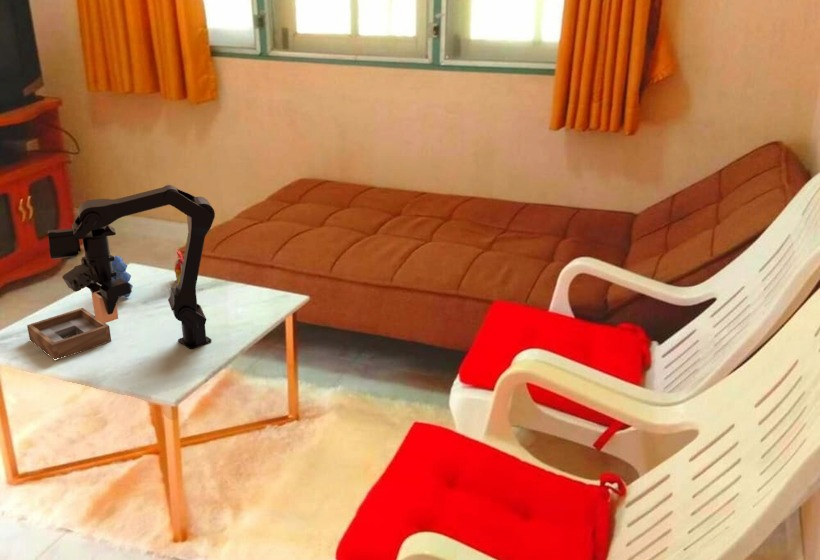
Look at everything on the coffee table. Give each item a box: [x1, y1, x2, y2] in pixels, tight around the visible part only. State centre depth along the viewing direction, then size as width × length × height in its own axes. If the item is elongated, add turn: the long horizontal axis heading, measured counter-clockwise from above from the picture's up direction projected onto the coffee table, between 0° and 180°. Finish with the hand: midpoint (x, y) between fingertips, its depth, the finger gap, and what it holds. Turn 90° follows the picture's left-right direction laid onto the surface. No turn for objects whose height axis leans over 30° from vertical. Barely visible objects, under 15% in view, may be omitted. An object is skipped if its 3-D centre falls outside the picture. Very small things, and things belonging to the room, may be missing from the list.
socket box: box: [26, 307, 112, 360], centre depth 203 cm, size 15×15×4 cm
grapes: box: [111, 255, 134, 298], centre depth 227 cm, size 12×7×12 cm, turn 39°
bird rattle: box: [174, 250, 184, 285], centre depth 237 cm, size 6×11×9 cm
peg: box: [91, 291, 119, 324], centre depth 191 cm, size 4×4×7 cm
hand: (105, 311), depth 192 cm, fingers closed on peg, 4 cm apart
